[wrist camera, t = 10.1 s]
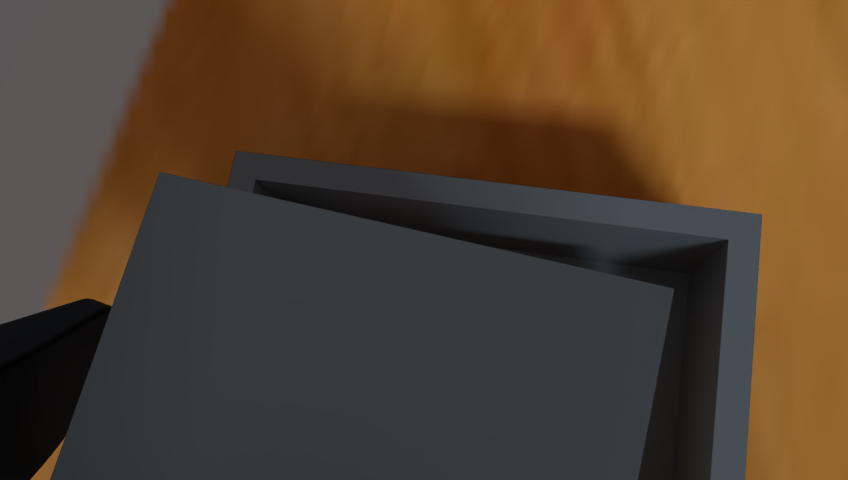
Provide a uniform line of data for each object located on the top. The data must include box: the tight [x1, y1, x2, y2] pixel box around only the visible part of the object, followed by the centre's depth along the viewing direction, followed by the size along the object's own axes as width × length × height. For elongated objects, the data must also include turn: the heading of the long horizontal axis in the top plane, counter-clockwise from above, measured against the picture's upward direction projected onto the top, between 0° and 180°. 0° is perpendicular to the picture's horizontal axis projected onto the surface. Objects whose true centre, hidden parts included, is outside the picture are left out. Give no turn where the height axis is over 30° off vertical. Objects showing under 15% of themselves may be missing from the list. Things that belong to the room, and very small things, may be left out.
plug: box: [50, 172, 674, 480], centre depth 11 cm, size 4×4×13 cm
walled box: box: [227, 151, 762, 480], centre depth 16 cm, size 11×11×4 cm
